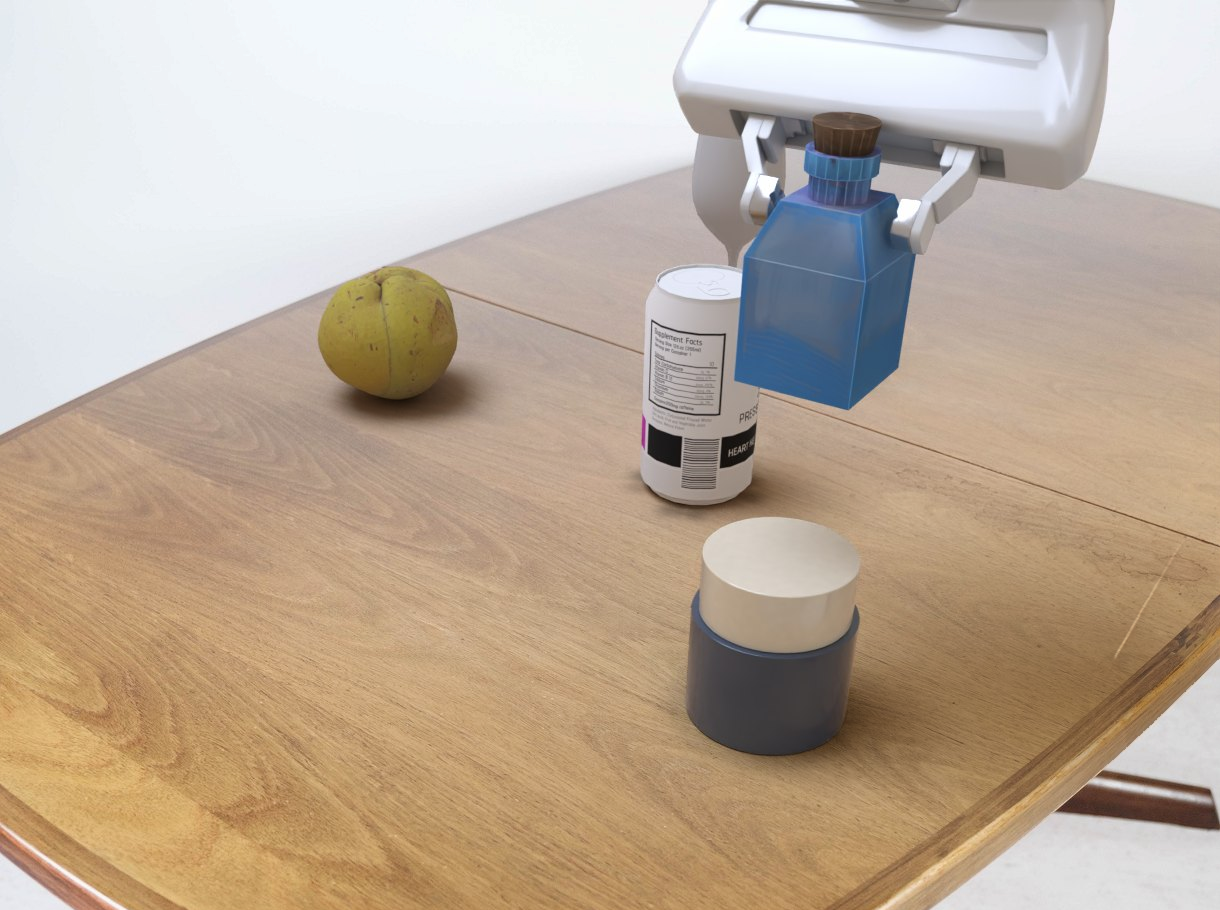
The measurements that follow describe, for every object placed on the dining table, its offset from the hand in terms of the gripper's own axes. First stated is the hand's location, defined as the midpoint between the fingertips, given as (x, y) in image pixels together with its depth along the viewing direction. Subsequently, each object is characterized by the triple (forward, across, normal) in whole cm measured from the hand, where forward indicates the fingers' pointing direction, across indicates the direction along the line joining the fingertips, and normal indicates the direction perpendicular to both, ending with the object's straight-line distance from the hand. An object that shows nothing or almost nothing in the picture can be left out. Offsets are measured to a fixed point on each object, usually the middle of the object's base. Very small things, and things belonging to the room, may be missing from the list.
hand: (830, 233), depth 62 cm
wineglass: (-13, -24, +50) cm, 57 cm away
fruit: (+3, -44, +34) cm, 56 cm away
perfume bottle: (+5, 0, +6) cm, 7 cm away
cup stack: (+20, 0, +17) cm, 26 cm away
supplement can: (+4, -15, +33) cm, 37 cm away
